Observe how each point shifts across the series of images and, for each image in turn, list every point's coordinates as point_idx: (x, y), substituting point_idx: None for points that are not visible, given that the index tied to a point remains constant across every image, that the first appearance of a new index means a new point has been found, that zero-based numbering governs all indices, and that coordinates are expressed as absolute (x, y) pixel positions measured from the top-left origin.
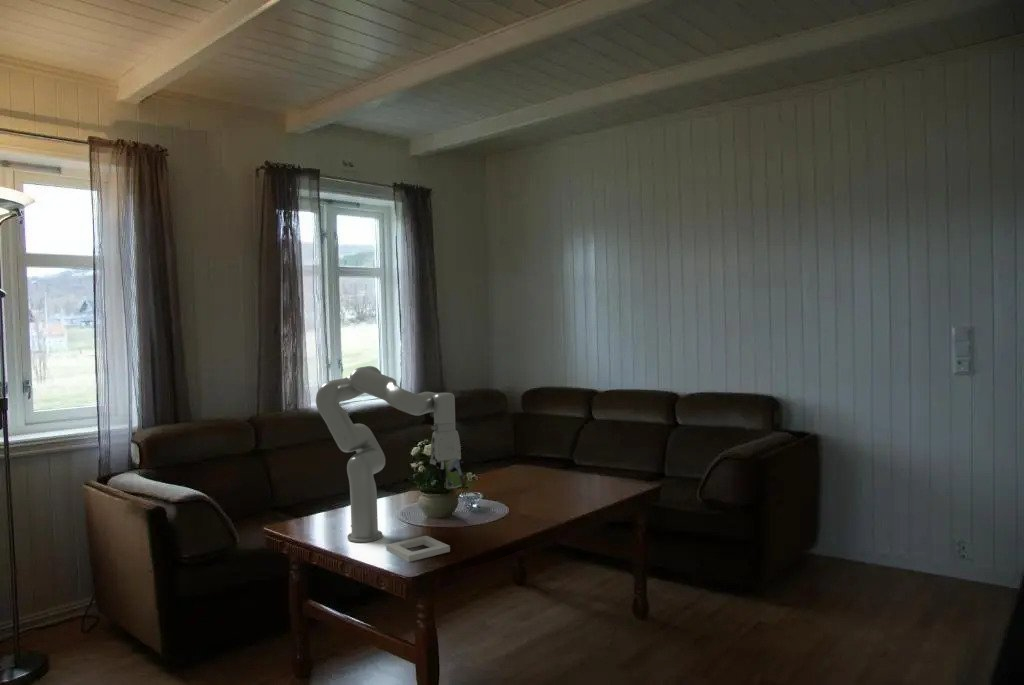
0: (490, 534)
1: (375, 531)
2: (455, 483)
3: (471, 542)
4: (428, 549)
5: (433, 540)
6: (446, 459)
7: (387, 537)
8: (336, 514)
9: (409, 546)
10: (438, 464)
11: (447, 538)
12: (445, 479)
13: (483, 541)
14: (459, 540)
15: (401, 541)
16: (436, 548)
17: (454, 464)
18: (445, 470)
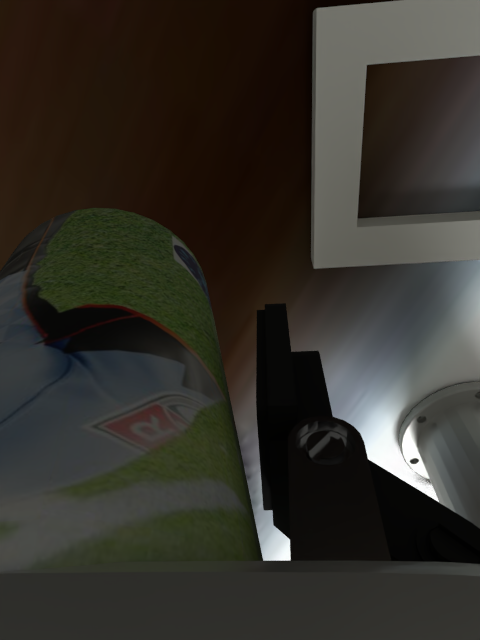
0: (4, 158)
1: (458, 419)
2: (139, 229)
3: (141, 94)
4: (449, 27)
5: (331, 171)
6: (278, 586)
7: (402, 389)
8: None
9: (429, 216)
10: (436, 533)
11: (214, 234)
12: (259, 310)
13: (77, 66)
14: (180, 168)
15: (454, 257)
16: (405, 12)
17: (30, 402)
18: (233, 419)
